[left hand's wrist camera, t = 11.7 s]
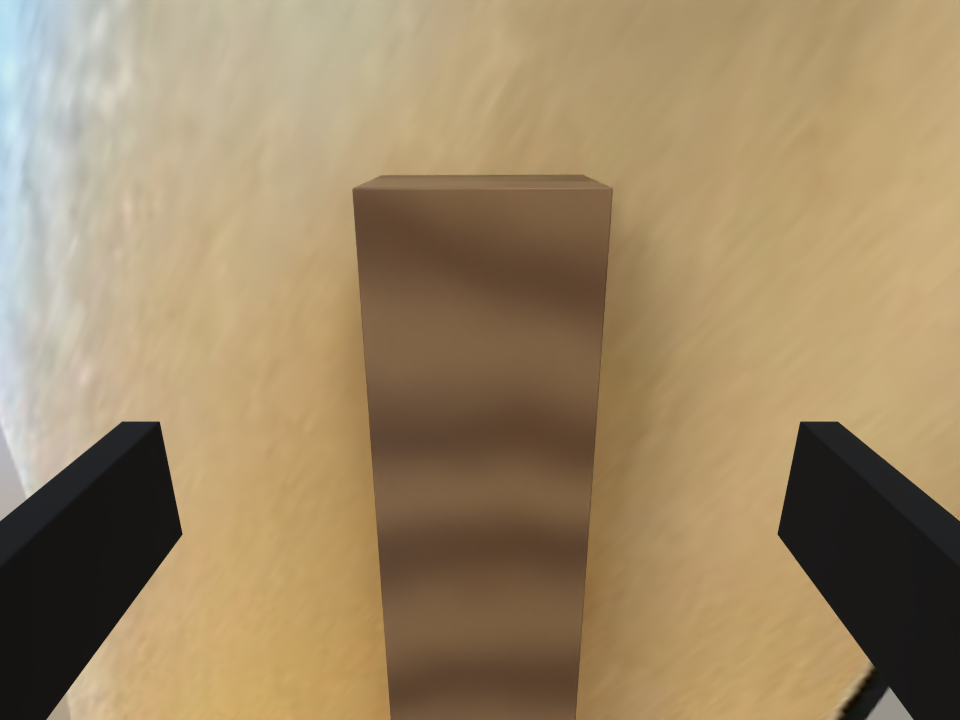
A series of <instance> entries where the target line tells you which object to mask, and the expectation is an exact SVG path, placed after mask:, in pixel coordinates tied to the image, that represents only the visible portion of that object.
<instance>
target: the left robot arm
mask: <svg viewBox="0 0 960 720" xmlns="http://www.w3.org/2000/svg"><path fill="white" fill-rule="evenodd" d="M181 536H182V530H181V525H180V520H179V515H178V510H177V505H176V500H175V495H174V490H173V485H172V480H171V475H170V470H169V465H168V460H167V455H166V451H165V446H164V441H163V436H162V431H161V426H160V422H121V423H120V424H119V425H118V426H116V427H115V428H114V429H113V430H111V431H110V432H109V433H108V434H107V435H105V436H104V437H103V438H102V439H100V440H99V441H98V442H97V443H96V444H94V445H93V446H92V447H91V448H89V449H88V450H87V451H86V452H85V453H83V454H82V455H81V456H80V457H78V458H77V459H76V460H75V461H73V462H72V463H71V464H70V465H69V466H67V467H66V468H65V469H64V470H62V471H61V472H60V473H59V474H58V475H56V476H55V477H54V478H53V479H51V480H50V481H49V482H48V483H47V484H45V485H44V486H43V487H42V488H40V489H39V490H38V491H37V492H36V493H34V494H33V495H32V496H31V497H29V498H28V499H27V500H26V501H25V502H23V503H22V504H21V505H20V506H18V507H17V508H16V509H15V510H13V511H12V512H11V513H10V514H9V515H7V516H6V517H5V518H4V519H2V520H1V521H0V720H46V719H47V718H48V717H49V715H50V714H51V712H52V711H53V710H54V708H55V707H56V706H57V704H58V703H59V702H60V700H61V699H62V698H63V696H64V695H65V693H66V692H67V691H68V689H69V688H70V687H71V685H72V684H73V683H74V681H75V680H76V679H77V677H78V676H79V674H80V673H81V672H82V670H83V669H84V668H85V666H86V665H87V664H88V662H89V661H90V659H91V658H92V657H93V655H94V654H95V653H96V651H97V650H98V649H99V647H100V646H101V644H102V643H103V642H104V640H105V639H106V638H107V636H108V635H109V634H110V632H111V631H112V630H113V628H114V627H115V625H116V624H117V623H118V621H119V620H120V619H121V617H122V616H123V615H124V613H125V612H126V610H127V609H128V608H129V606H130V605H131V604H132V602H133V601H134V600H135V598H136V597H137V596H138V594H139V593H140V591H141V590H142V589H143V587H144V586H145V585H146V583H147V582H148V581H149V579H150V578H151V576H152V575H153V574H154V572H155V571H156V570H157V568H158V567H159V566H160V564H161V563H162V561H163V560H164V559H165V557H166V556H167V555H168V553H169V552H170V551H171V549H172V548H173V547H174V545H175V544H176V542H177V541H178V540H179V538H180V537H181ZM778 536H779V537H780V538H781V540H782V541H783V542H784V544H785V545H786V547H787V548H788V549H789V551H790V552H791V553H792V555H793V556H794V557H795V559H796V560H797V561H798V563H799V564H800V566H801V567H802V568H803V570H804V571H805V572H806V574H807V575H808V576H809V578H810V579H811V581H812V582H813V583H814V585H815V586H816V587H817V589H818V590H819V591H820V593H821V594H822V596H823V597H824V598H825V600H826V601H827V602H828V604H829V605H830V606H831V608H832V609H833V610H834V612H835V613H836V615H837V616H838V617H839V619H840V620H841V621H842V623H843V624H844V625H845V627H846V628H847V630H848V631H849V632H850V634H851V635H852V636H853V638H854V639H855V640H856V642H857V643H858V644H859V646H860V647H861V649H862V650H863V651H864V653H865V654H866V655H867V657H868V658H869V659H870V661H871V662H872V664H873V665H874V666H875V668H876V669H877V670H878V672H879V673H880V674H881V676H882V677H883V679H884V680H885V681H886V683H887V684H888V685H889V687H890V688H891V689H892V691H893V692H894V693H895V695H896V696H897V698H898V699H899V700H900V702H901V703H902V704H903V706H904V707H905V708H906V710H907V711H908V713H909V714H910V715H911V717H912V718H913V719H914V720H960V521H959V520H958V519H956V518H955V517H954V516H953V515H951V514H950V513H949V512H948V511H947V510H945V509H944V508H943V507H942V506H940V505H939V504H938V503H937V502H935V501H934V500H933V499H932V498H931V497H929V496H928V495H927V494H926V493H924V492H923V491H922V490H921V489H920V488H918V487H917V486H916V485H915V484H913V483H912V482H911V481H910V480H909V479H907V478H906V477H905V476H904V475H902V474H901V473H900V472H899V471H898V470H896V469H895V468H894V467H893V466H891V465H890V464H889V463H888V462H887V461H885V460H884V459H883V458H882V457H880V456H879V455H878V454H877V453H875V452H874V451H873V450H872V449H871V448H869V447H868V446H867V445H866V444H864V443H863V442H862V441H861V440H860V439H858V438H857V437H856V436H855V435H853V434H852V433H851V432H850V431H849V430H847V429H846V428H845V427H844V426H842V425H841V424H840V423H839V422H800V426H799V431H798V436H797V441H796V446H795V451H794V455H793V460H792V465H791V470H790V475H789V480H788V485H787V490H786V495H785V500H784V505H783V510H782V515H781V520H780V525H779V530H778Z"/></svg>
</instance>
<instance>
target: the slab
mask: <svg viewBox="0 0 960 720" xmlns="http://www.w3.org/2000/svg"><path fill="white" fill-rule="evenodd" d="M612 193H613V188H612V187H609V186H607V185H605V184H602V183H600V182H598V181H596V180H593V179H591V178H589V177H586V176H584V175H381V176H379V177H377V178H375V179H373V180H370V181H368V182H366V183H364V184H362V185H360V186H357V187H355V188H353V203H354V217H355V231H356V245H357V258H358V272H359V286H360V300H361V314H362V327H363V341H364V355H365V369H366V383H367V397H368V410H369V424H370V438H371V452H372V466H373V479H374V493H375V507H376V521H377V535H378V548H379V562H380V576H381V590H382V604H383V617H384V631H385V645H386V659H387V673H388V686H389V700H390V714H391V720H575V718H576V704H577V690H578V676H579V662H580V647H581V633H582V619H583V605H584V591H585V577H586V562H587V548H588V534H589V520H590V506H591V491H592V477H593V463H594V449H595V435H596V420H597V406H598V392H599V378H600V364H601V349H602V335H603V321H604V307H605V293H606V279H607V264H608V250H609V236H610V222H611V208H612Z"/></svg>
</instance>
